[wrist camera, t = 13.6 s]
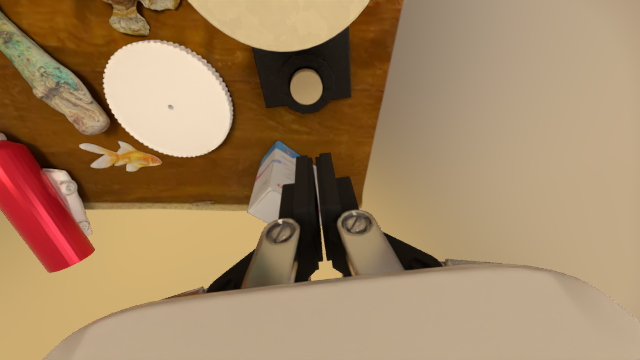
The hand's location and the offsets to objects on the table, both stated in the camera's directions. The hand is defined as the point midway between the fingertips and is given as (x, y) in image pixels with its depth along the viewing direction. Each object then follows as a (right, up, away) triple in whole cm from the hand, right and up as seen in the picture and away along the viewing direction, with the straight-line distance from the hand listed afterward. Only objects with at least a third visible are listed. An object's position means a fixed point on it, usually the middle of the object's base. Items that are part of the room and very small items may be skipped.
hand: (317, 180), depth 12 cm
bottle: (-37, -12, +25) cm, 46 cm away
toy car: (-39, -5, +24) cm, 46 cm away
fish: (-29, +1, +25) cm, 38 cm away
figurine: (-31, +13, +17) cm, 38 cm away
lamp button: (-1, +11, +17) cm, 20 cm away
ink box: (-4, +2, +26) cm, 27 cm away
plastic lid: (-18, +10, +20) cm, 29 cm away
